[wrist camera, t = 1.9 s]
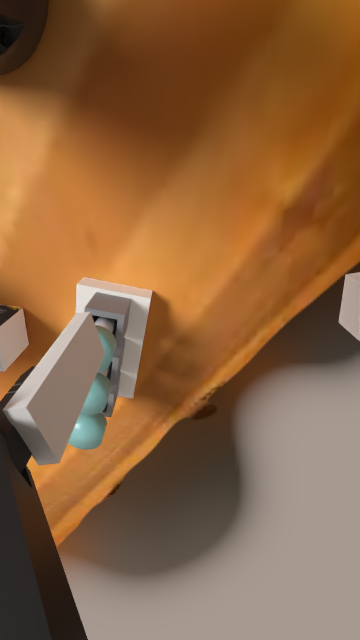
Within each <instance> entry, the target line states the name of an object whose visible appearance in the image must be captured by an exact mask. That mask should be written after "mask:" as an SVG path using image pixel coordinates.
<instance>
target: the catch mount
mask: <svg viewBox="0 0 360 640" xmlns="http://www.w3.org/2000/svg"><path fill="white" fill-rule="evenodd" d="M152 291H153V290H148V289H143V288H138V287H133V286H128V285H123V284H118V283H113V282H108V281H103V280H98V279H93V278H88V277H83V278H82V279H81V280H80V281H79V282H78V283H77V294H76V313H83V312H91V315H92V318H93V321H94V323H95V322H96V320H97V319H98V317H99V316H100V317H106V318H111V319H115V320H116V325H115V327H114V330H113V332H112V334H113V335H114V337H115V339H116V343H117V346H116V350H115V352H114V355H113V358H112V361H111V365H110V368H109V371H108V373H107V376H106V377H107V378H108V379H109V381H110V383H111V391H110V394H109V397H108V401H107V404H106V407H105V408H104V410H103V411H102V414H103V415H104V416H106V417H111V416H112V413H113V409H114V406H115V402H116V399H117V396H119V397H125V398H132V399H133V395H134V390H135V385H136V380H137V374H138V369H139V363H140V358H141V352H142V346H143V341H144V335H145V330H146V324H147V319H148V313H149V308H150V302H151V297H152Z"/></svg>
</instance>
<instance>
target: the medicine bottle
mask: <svg viewBox="0 0 360 640" xmlns="http://www.w3.org/2000/svg"><path fill="white" fill-rule="evenodd" d="M28 345H29V342H28V336H27V330H26V324H25V317H24V311H23V308H22V307H19V306H11V305H2V304H0V372H4V371H5V370H6V369H7V368H8V367H9V366H10V365H11V364H12V363H13V362H14V361H15V360H16V358H17V357H18V356H19V355H20V354H21V353H22V352H23V351H24V350H25V349H26V347H27V346H28Z"/></svg>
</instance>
